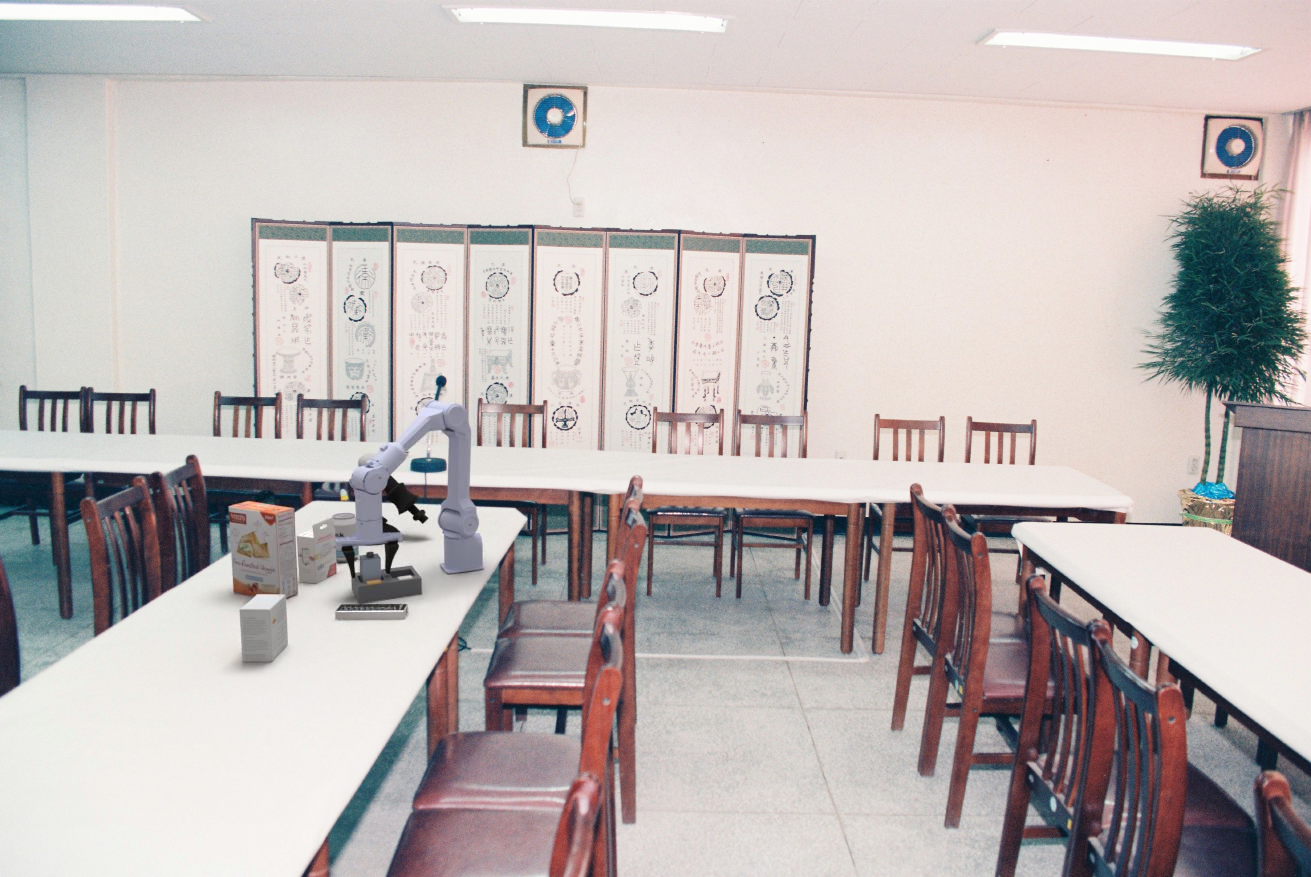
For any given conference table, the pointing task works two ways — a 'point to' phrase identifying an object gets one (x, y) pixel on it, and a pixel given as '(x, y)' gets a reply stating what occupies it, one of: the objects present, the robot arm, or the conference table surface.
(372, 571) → the plug
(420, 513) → the sculpture
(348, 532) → the beverage can
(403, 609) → the multiport hub
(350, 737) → the conference table surface
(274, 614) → the small box
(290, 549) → the cracker box
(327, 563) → the ink cartridge box
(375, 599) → the port box
